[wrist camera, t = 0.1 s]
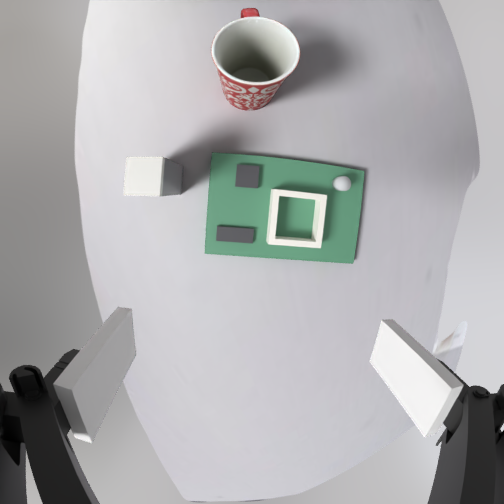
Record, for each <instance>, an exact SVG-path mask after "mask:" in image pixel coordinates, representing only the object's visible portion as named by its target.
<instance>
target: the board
mask: <svg viewBox="0 0 504 504" xmlns="http://www.w3.org/2000/svg"><path fill="white" fill-rule="evenodd" d="M363 182H364V171H361V170H356V169H351V168H345V167H339V166H333V165H327V164H320V163H313V162H306V161H299V160H291V159H283V158H274V157H264V156H254V155H242V154H229V153H214V152H212V158H211V169H210V181H209V194H208V207H207V222H206V239H205V254H218V255H232V256H247V257H261V258H276V259H291V260H306V261H321V262H336V263H351V264H353V262H354V256H355V249H356V242H357V235H358V228H359V220H360V211H361V202H362V192H363Z"/></svg>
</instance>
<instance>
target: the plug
mask: <svg viewBox="0 0 504 504" xmlns="http://www.w3.org/2000/svg"><path fill="white" fill-rule="evenodd" d="M182 176H183V166H182V165H180V164H177V163H175V162H173V161H171V160H168V159H166V158H164V157H126V167H125V180H124V195H130V196H168V195H178V194H181V189H182Z"/></svg>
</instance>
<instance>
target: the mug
mask: <svg viewBox="0 0 504 504" xmlns="http://www.w3.org/2000/svg"><path fill="white" fill-rule="evenodd" d="M211 54H212V59H213V61H214V64H215V65H216V67H217V70H218V74H219V77H220V81H221V84H222V88H223V92H224V95H225V97H226V99H227V100H228V101H229V102H230V104H232V105H233V106H235V107H236V108H239V109H242V110H257V109H260V108H262V107H264V106H265V105H266V104H267V103H268V102H269V101H270V100H271V99H272V97H273V96H274V94H275V93H276V91H277V90H278V88H279V87H280V86H281V84H282V83H283V81H284V80H285V79H286V77H288V76H289V75H290V74H291V73H292V72H293V71H294V70H295V68H296V67H297V65H298V63H299V59H300V46H299V43H298V41H297V39H296V37H295V35H294V34H293V33H292V32H291V31H290V30H289V29H288V28H287V27H286V26H284V25H283V24H281V23H279V22H277V21H275V20H272V19H269V18H265V17H259V12H258V10H257V9H256V8H246V9H243V10H242V11H241V18H240V19H237V20H234V21H232V22H230V23H228V24H227V25H225V26H224V27H223V28H221V29H220V30H219V32H218V33H217V34H216V36H215V37H214V40H213V42H212V46H211Z"/></svg>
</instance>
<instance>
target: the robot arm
mask: <svg viewBox="0 0 504 504" xmlns="http://www.w3.org/2000/svg"><path fill="white" fill-rule="evenodd" d="M135 356H136V348H135V339H134V329H133V318H132V309H130V308H122V307H118V308H117V309H116V310H115V311H114V312H113V313H112V314H111V315H110V317H109V318H108V319H107V320H106V321H105V322H104V323H103V325H102V326H101V327H100V328H99V329H98V330H97V331H96V333H95V334H94V335H93V336H92V337H91V338H90V340H89V341H88V342H87V343H86V344H85V346H84V347H83V348H82V349H81V350H75V349H73V350H71V351H69V352H67V353H66V354H64V356H62V358H61V359H60V360H59V362H57V363H56V364H55V365H54V367H53V368H52V369H51V370H50V371H49V373H48V374H47V375H46V376H45V377H44V378H43V376H42V373H41V371H40V369H38V368H37V367H36V366H32V365H23V366H20V367H17V368H16V369H14V370H13V371H12V372H11V373H10V376H9V380H10V382H11V384H12V387H13V389H14V392H15V393H14V392H6V391H4V390H3V388H2V386H1V384H0V504H27V495H26V476H25V475H26V472H25V470H26V469H25V467H26V465H25V464H26V451H27V455H28V459H29V462H30V466H31V469H32V473H33V476H34V480H35V483H36V485H37V489H38V491H39V494H40V497H41V500H42V502H43V504H100V503H99V502H98V500H97V498H96V496H95V494H94V493H93V491H92V489H91V487H90V485H89V484H88V481H87V479H86V477H85V475H84V473H83V471H82V469H81V467H80V464H79V462H78V460H77V458H76V455H75V453H74V451H73V448H72V446H71V443H70V441H69V438H68V436H67V434H68V432H69V430H70V428H71V430H72V432H73V434H74V437H75V438H77V439H80V440H83V441H87V442H90V443H93V441H94V438H95V436H96V434H97V432H98V430H99V428H100V426H101V424H102V421H103V419H104V417H105V415H106V413H107V411H108V409H109V407H110V405H111V403H112V401H113V399H114V397H115V395H116V393H117V391H118V389H119V387H120V385H121V383H122V381H123V379H124V377H125V375H126V373H127V371H128V369H129V368H130V366H131V364H132V362H133V360H134V358H135ZM370 363H371V364H372V366H373V367H374V368H375V370H376V371H377V372H378V374H379V375H380V376H381V378H382V379H383V380H384V382H385V383H386V385H387V386H388V387H389V389H390V390H391V391H392V393H393V394H394V396H395V397H396V398H397V400H398V401H399V402H400V404H401V405H402V407H403V408H404V409H405V411H406V412H407V414H408V415H409V416H410V418H411V419H412V421H413V422H414V423H415V425H416V426H417V428H418V429H419V430H420V432H421V433H422V435H423V436H424V437H428V436H431V435H433V434H436V433H437V432H438V431H439V429H440V428H441V426H442V424H444V425H445V426H446V427H447V428H446V429H445V431H444V432H443V434H442V436H441V437H440V439H439V440H438V442H437V443H436V446H438V444H439V443H440V442H441V441H442V444H441V450H440V456H439V460H438V465H437V470H436V474H435V479H434V483H433V486H432V490H431V494H430V497H429V501H428V504H504V430H503V432H501V430H500V428H501V427H502V425H503V423H504V384H503V385H501V387H500V389H499V391H498V393H495V394H490V392H488V391H487V389H485V388H483V387H480V386H471V387H469V386H468V385H467V384H466V383H465V382H464V381H463V380H461V379H460V378H459V377H458V376H457V375H456V374H455V373H454V372H453V371H452V370H451V369H449V367H448V366H447V365H446V364H445V363H443V362H442V361H440V360H438V359H436V358H435V357H434V356H433V355H432V354H431V353H429V352H428V351H427V350H426V349H425V348H424V347H423V346H422V345H421V344H420V343H418V342H417V341H416V340H415V339H414V338H413V337H412V336H411V335H410V334H409V333H407V332H406V331H405V330H404V329H403V328H402V327H401V326H400V325H398V324H397V323H396V322H395V321H394V320H393V319H390V320H381V324H380V328H379V331H378V335H377V339H376V342H375V346H374V349H373V352H372V356H371V359H370Z"/></svg>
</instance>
